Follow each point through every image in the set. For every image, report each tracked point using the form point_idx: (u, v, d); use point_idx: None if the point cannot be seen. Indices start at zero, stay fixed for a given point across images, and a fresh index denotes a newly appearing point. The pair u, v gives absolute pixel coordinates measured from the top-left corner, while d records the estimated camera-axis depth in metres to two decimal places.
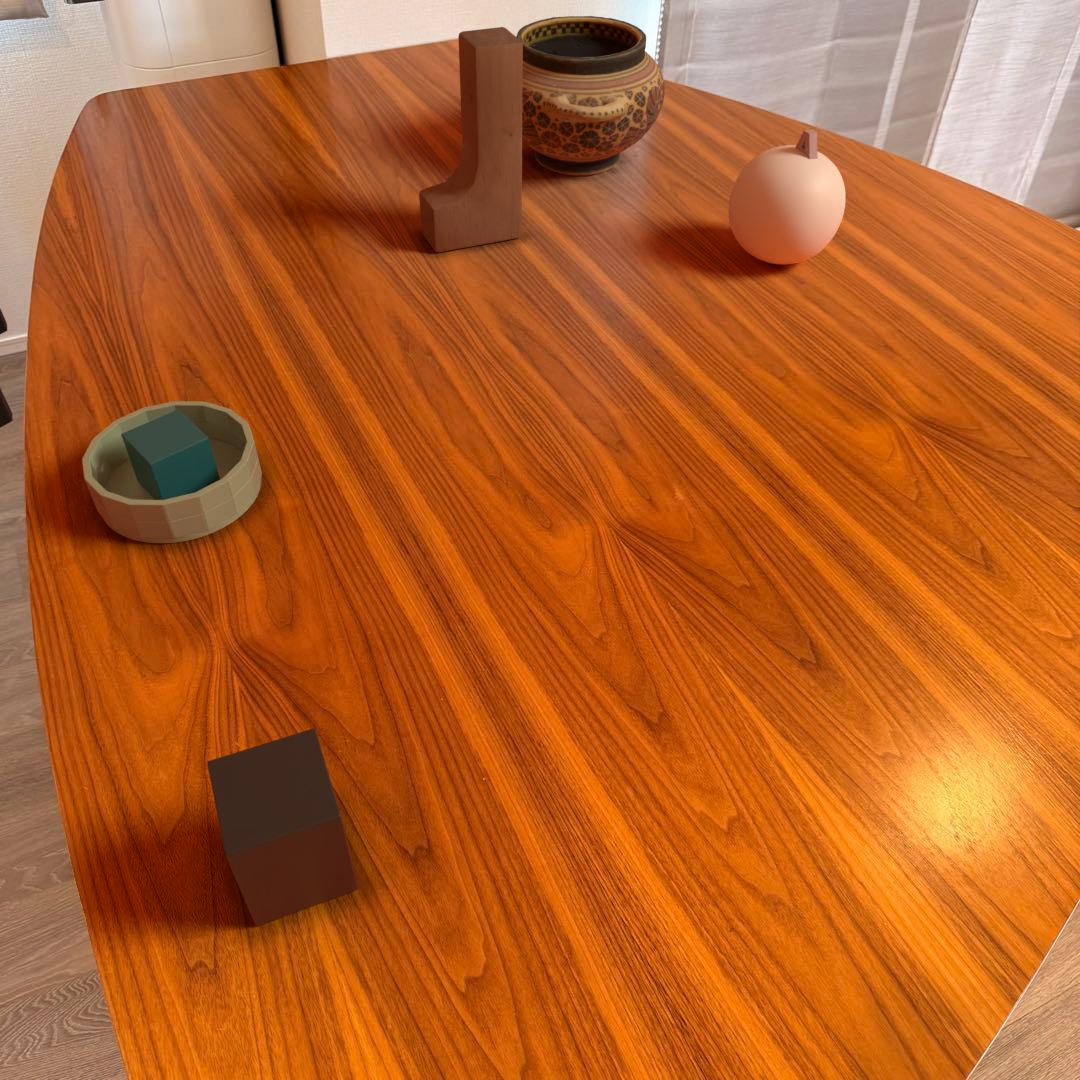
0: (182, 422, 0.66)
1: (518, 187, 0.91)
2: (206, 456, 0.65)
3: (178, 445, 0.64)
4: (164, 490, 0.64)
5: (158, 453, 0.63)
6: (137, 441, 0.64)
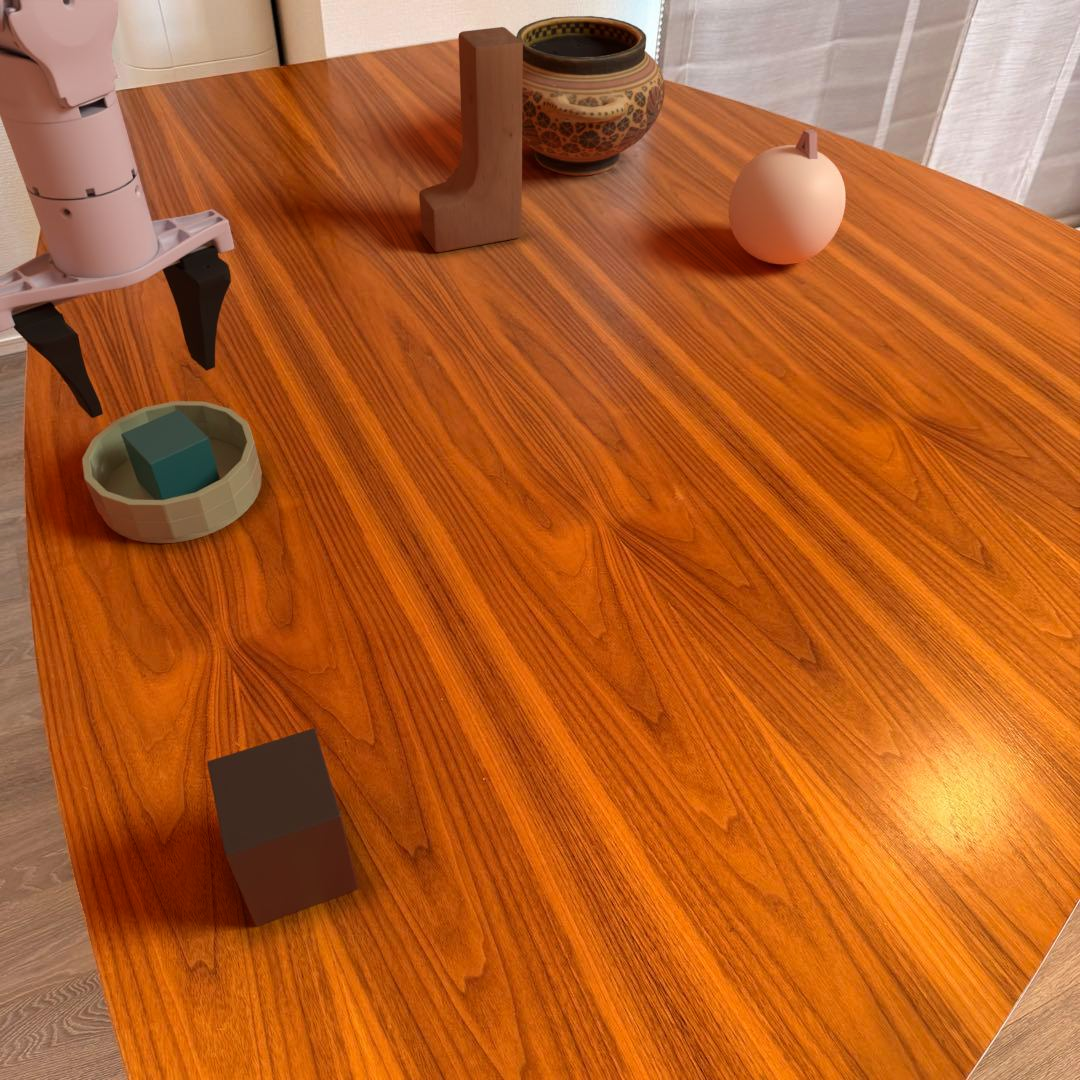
0: (182, 422, 0.66)
1: (518, 187, 0.91)
2: (206, 456, 0.65)
3: (178, 445, 0.64)
4: (164, 490, 0.64)
5: (158, 453, 0.63)
6: (137, 441, 0.64)
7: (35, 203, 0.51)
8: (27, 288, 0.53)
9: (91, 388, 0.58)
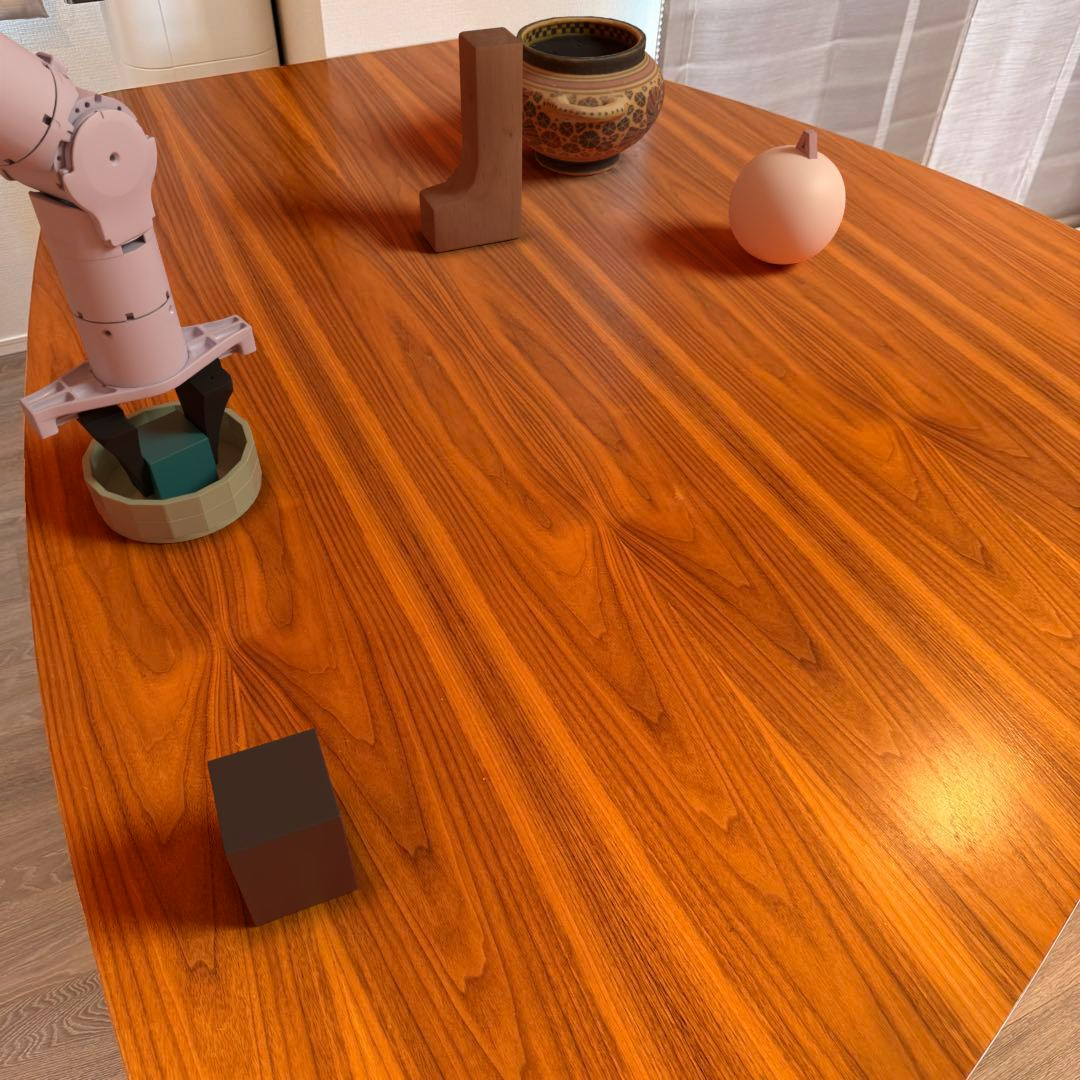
0: (182, 422, 0.66)
1: (518, 187, 0.91)
2: (206, 456, 0.65)
3: (178, 445, 0.64)
4: (163, 490, 0.64)
5: (157, 454, 0.63)
6: None
7: (79, 324, 0.56)
8: (70, 398, 0.58)
9: (145, 472, 0.63)
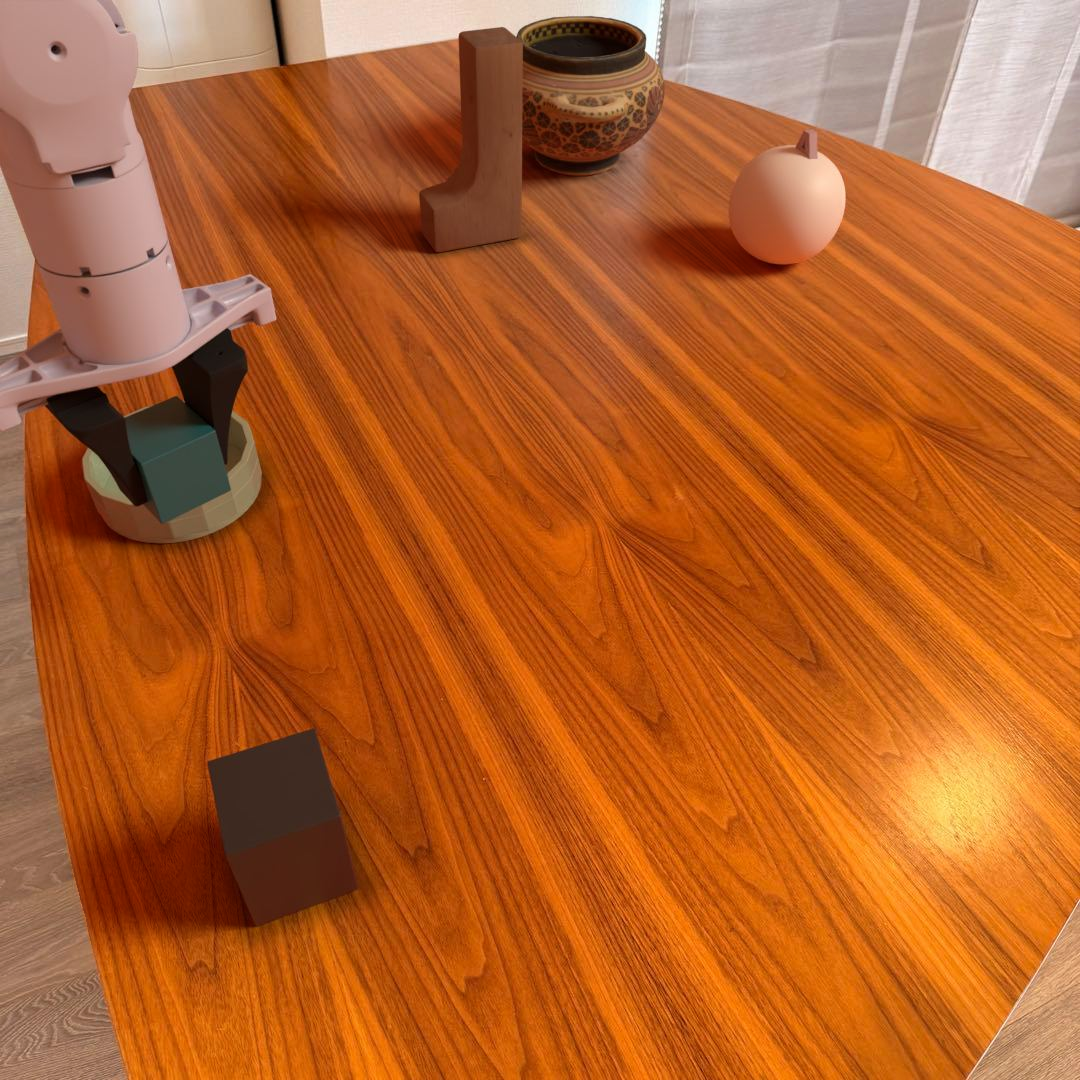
0: (182, 411, 0.52)
1: (518, 187, 0.91)
2: (213, 454, 0.52)
3: (177, 440, 0.50)
4: (159, 497, 0.51)
5: (151, 451, 0.50)
6: None
7: (46, 279, 0.43)
8: (36, 378, 0.44)
9: (136, 475, 0.50)
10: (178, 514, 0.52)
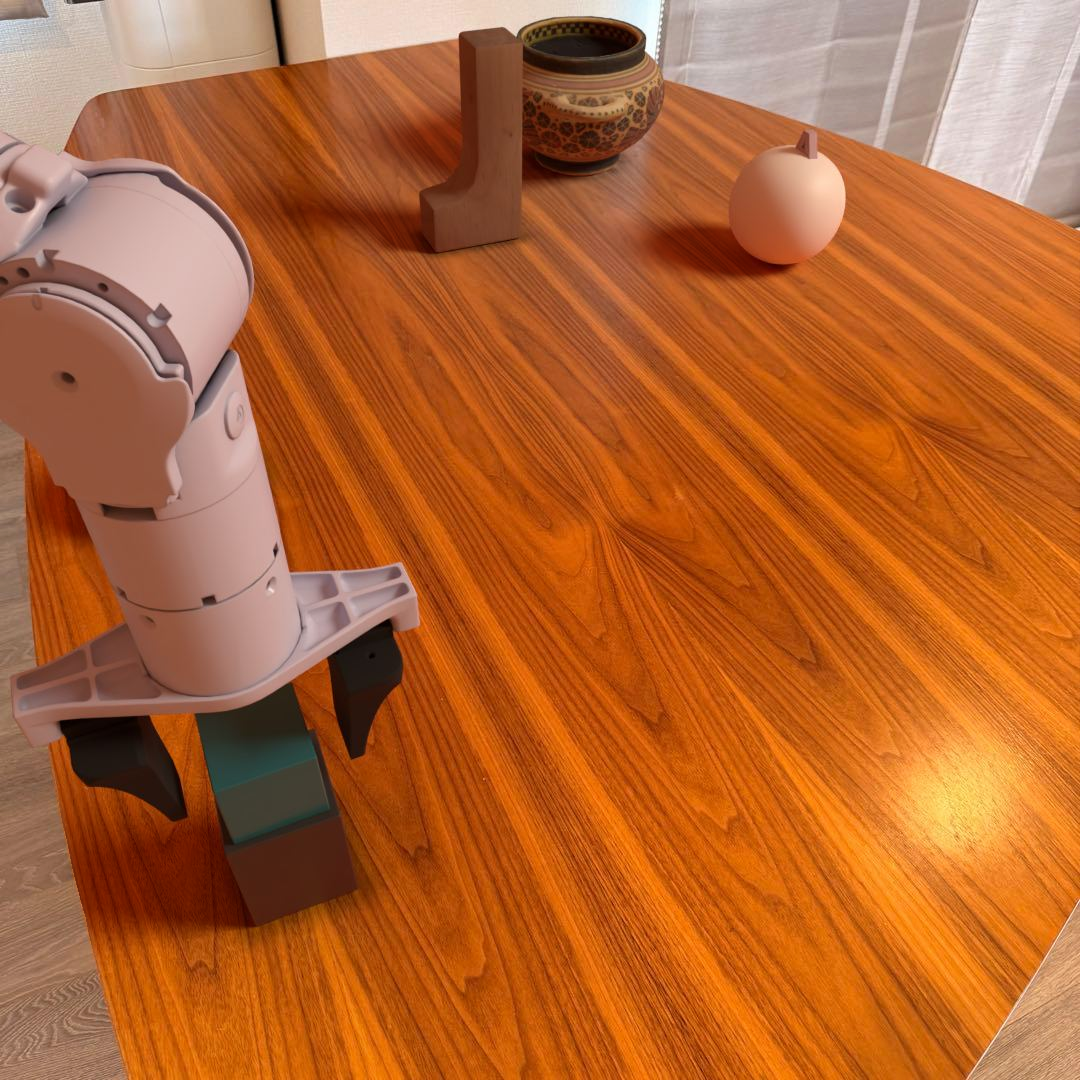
0: (288, 712, 0.41)
1: (518, 187, 0.91)
2: (310, 779, 0.41)
3: (268, 761, 0.40)
4: (234, 821, 0.40)
5: (232, 773, 0.39)
6: (211, 737, 0.40)
7: None
8: (89, 688, 0.34)
9: (170, 799, 0.39)
10: (256, 835, 0.42)
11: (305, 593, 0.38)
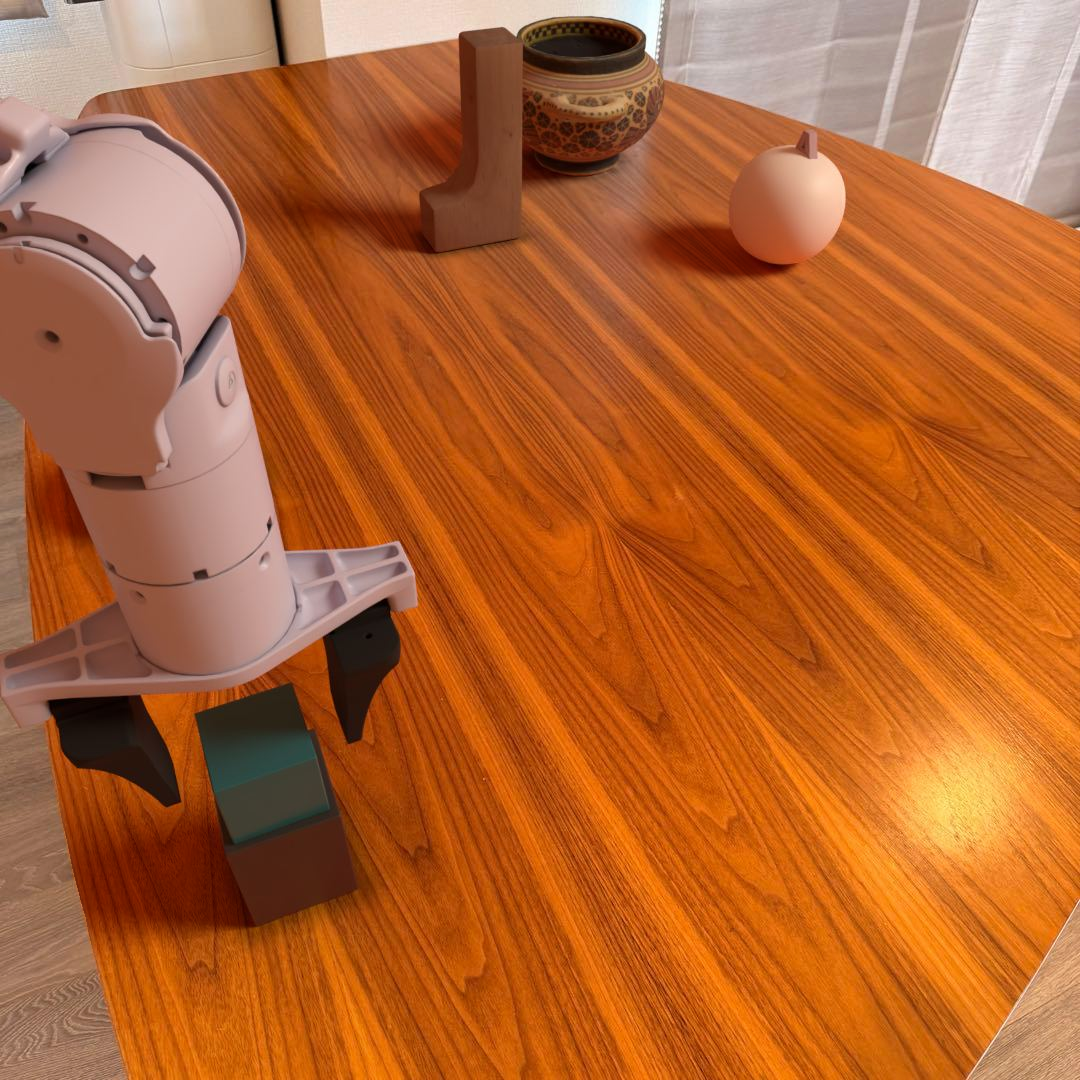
0: (288, 712, 0.41)
1: (518, 187, 0.91)
2: (310, 779, 0.41)
3: (268, 761, 0.40)
4: (234, 821, 0.40)
5: (232, 773, 0.39)
6: (211, 737, 0.40)
7: (102, 564, 0.31)
8: (79, 667, 0.34)
9: (162, 783, 0.38)
10: (256, 835, 0.42)
11: (300, 572, 0.37)
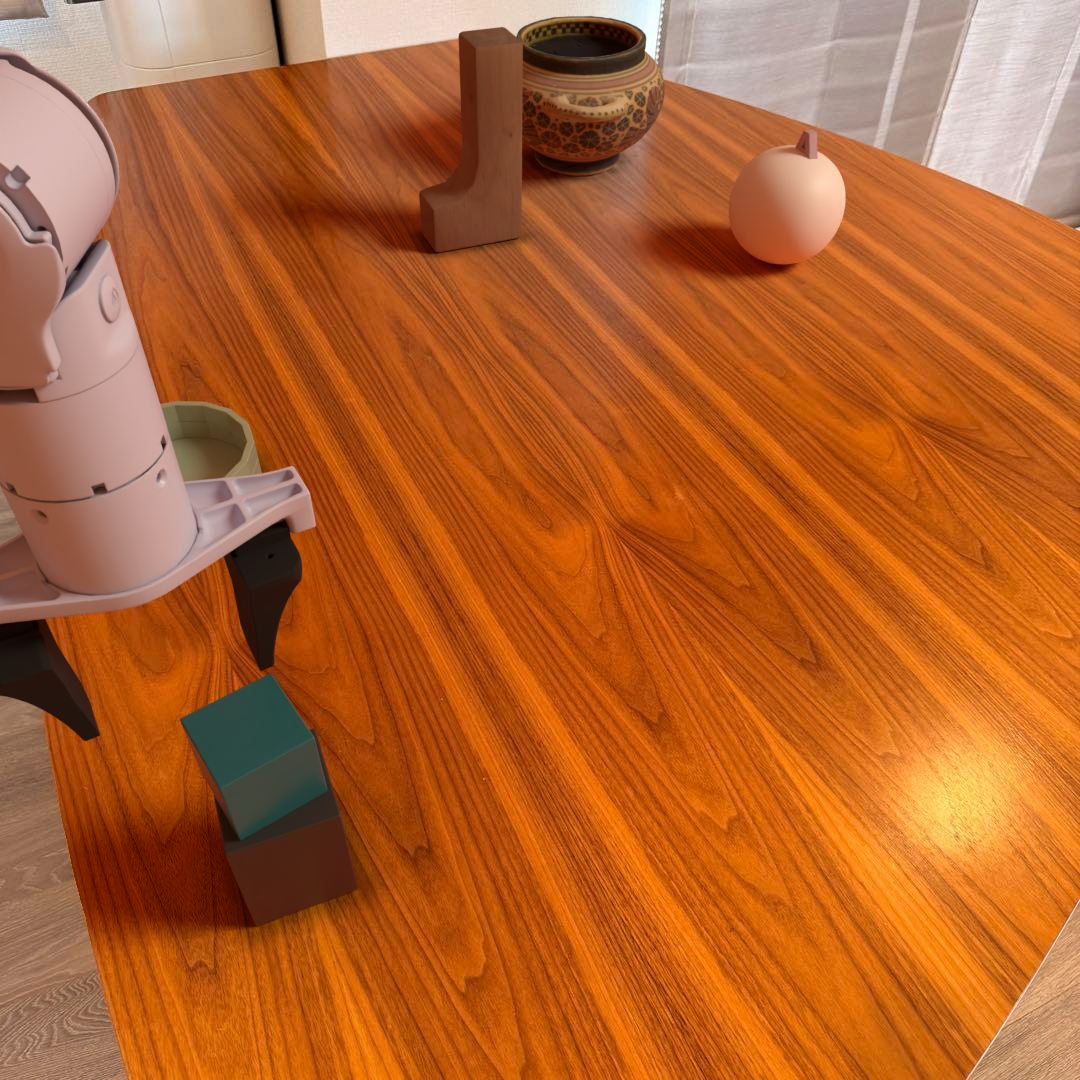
0: (275, 701, 0.42)
1: (518, 187, 0.91)
2: (309, 761, 0.41)
3: (267, 750, 0.40)
4: (239, 816, 0.40)
5: (234, 767, 0.39)
6: (203, 738, 0.40)
7: (2, 490, 0.33)
8: None
9: (80, 714, 0.39)
10: (261, 827, 0.42)
11: (200, 500, 0.39)
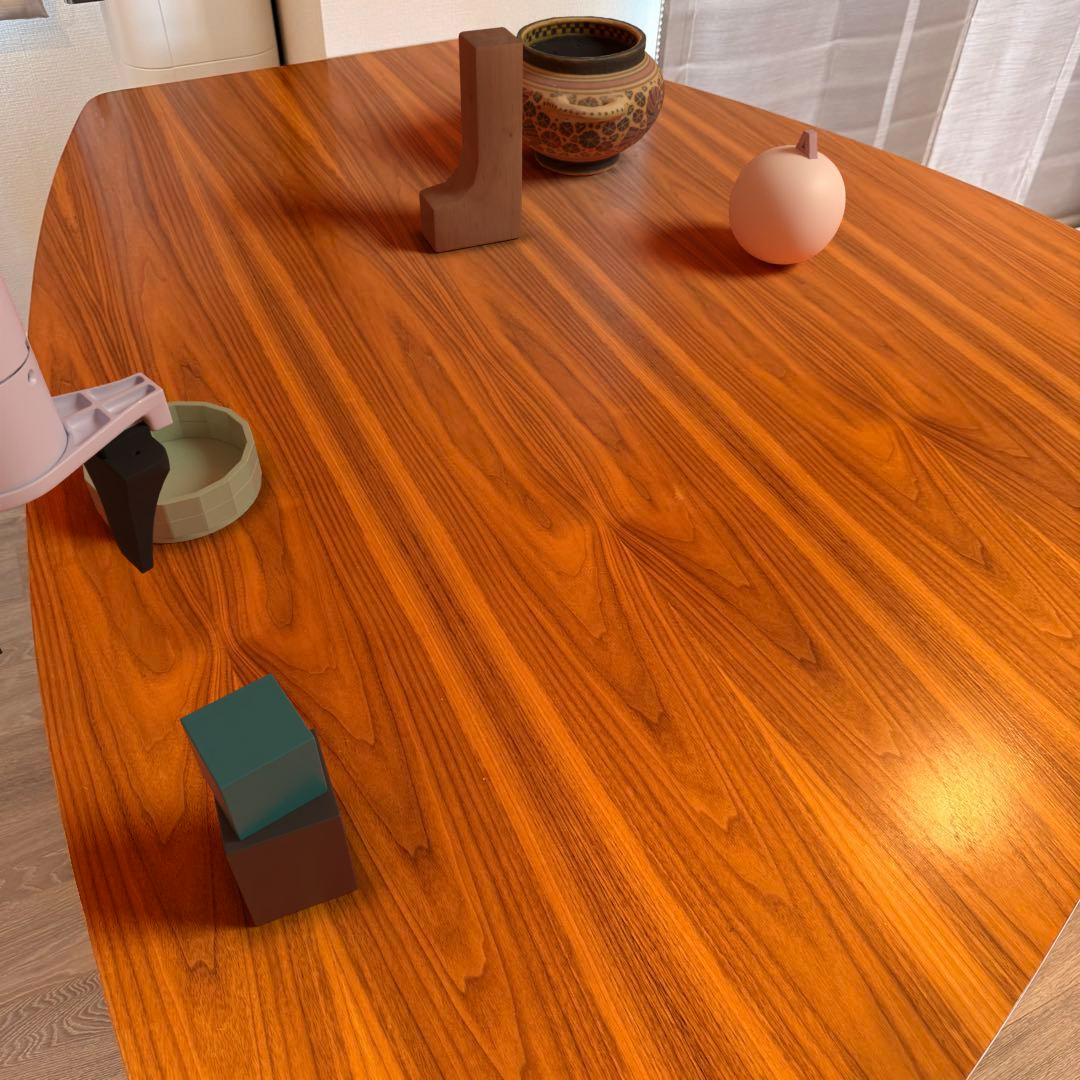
0: (275, 701, 0.42)
1: (518, 187, 0.91)
2: (309, 761, 0.41)
3: (267, 750, 0.40)
4: (239, 816, 0.40)
5: (234, 767, 0.39)
6: (203, 738, 0.40)
7: None
8: None
9: None
10: (261, 827, 0.42)
11: (60, 413, 0.43)
